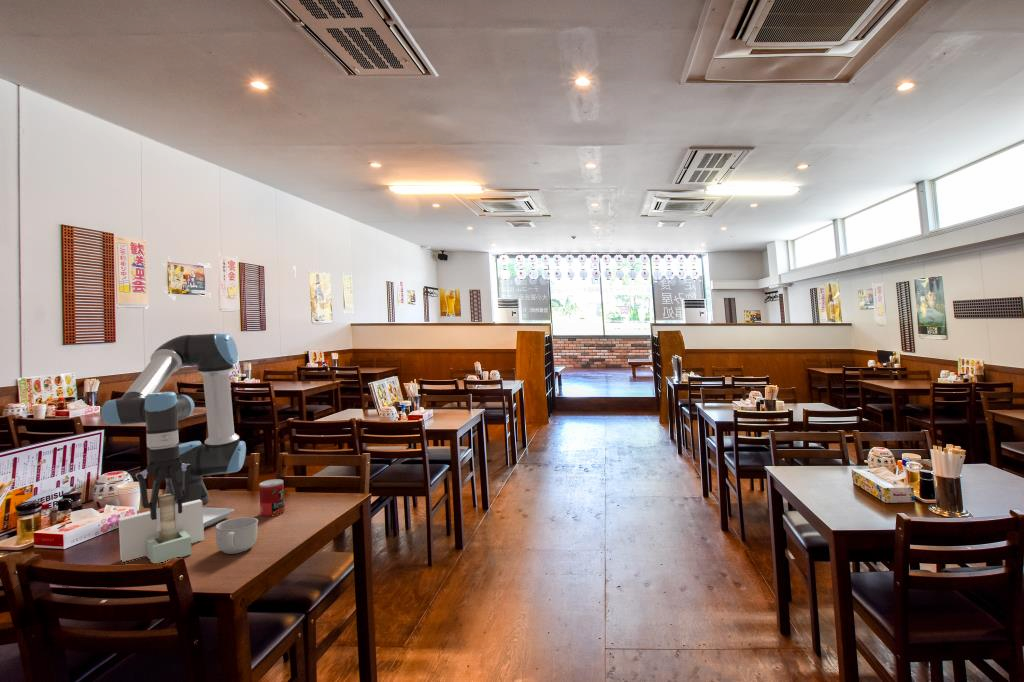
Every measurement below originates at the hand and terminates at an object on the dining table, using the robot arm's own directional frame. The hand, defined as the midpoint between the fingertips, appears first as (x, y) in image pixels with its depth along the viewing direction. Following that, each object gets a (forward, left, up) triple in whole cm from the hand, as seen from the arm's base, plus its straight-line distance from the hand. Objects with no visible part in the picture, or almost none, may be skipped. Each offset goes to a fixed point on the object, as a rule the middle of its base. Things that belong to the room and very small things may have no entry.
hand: (167, 527), depth 142 cm
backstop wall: (-6, 0, -8) cm, 10 cm away
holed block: (+1, 0, -8) cm, 8 cm away
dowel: (0, 0, -5) cm, 5 cm away
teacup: (+13, +14, -8) cm, 21 cm away
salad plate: (-23, +9, -9) cm, 26 cm away
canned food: (-12, +33, -8) cm, 36 cm away
